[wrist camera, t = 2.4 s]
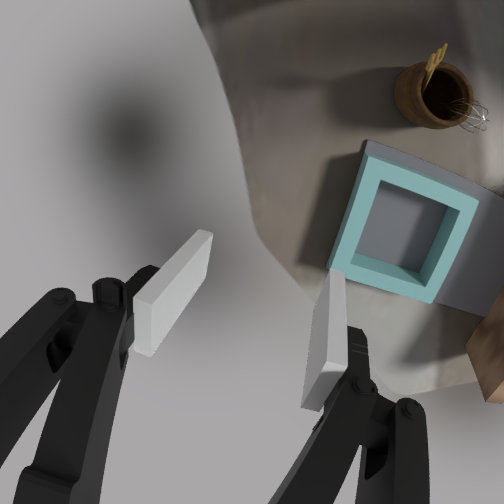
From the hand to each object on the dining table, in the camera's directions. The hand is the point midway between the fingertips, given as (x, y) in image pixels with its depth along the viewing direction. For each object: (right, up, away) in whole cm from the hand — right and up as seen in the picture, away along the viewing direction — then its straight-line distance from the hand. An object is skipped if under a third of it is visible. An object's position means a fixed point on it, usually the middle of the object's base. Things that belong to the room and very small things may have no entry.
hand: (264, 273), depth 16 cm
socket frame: (+14, +4, +14) cm, 20 cm away
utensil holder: (+15, +16, +8) cm, 23 cm away
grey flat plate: (+19, +2, +13) cm, 23 cm away
